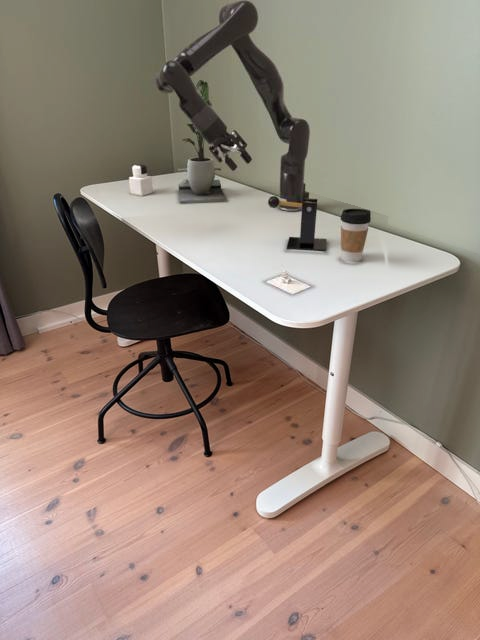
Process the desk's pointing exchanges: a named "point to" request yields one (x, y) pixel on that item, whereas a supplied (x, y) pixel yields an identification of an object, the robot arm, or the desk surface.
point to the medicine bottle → (140, 181)
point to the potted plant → (200, 170)
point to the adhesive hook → (288, 283)
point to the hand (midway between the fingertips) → (242, 165)
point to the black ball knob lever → (281, 203)
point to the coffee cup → (354, 233)
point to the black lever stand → (307, 229)
